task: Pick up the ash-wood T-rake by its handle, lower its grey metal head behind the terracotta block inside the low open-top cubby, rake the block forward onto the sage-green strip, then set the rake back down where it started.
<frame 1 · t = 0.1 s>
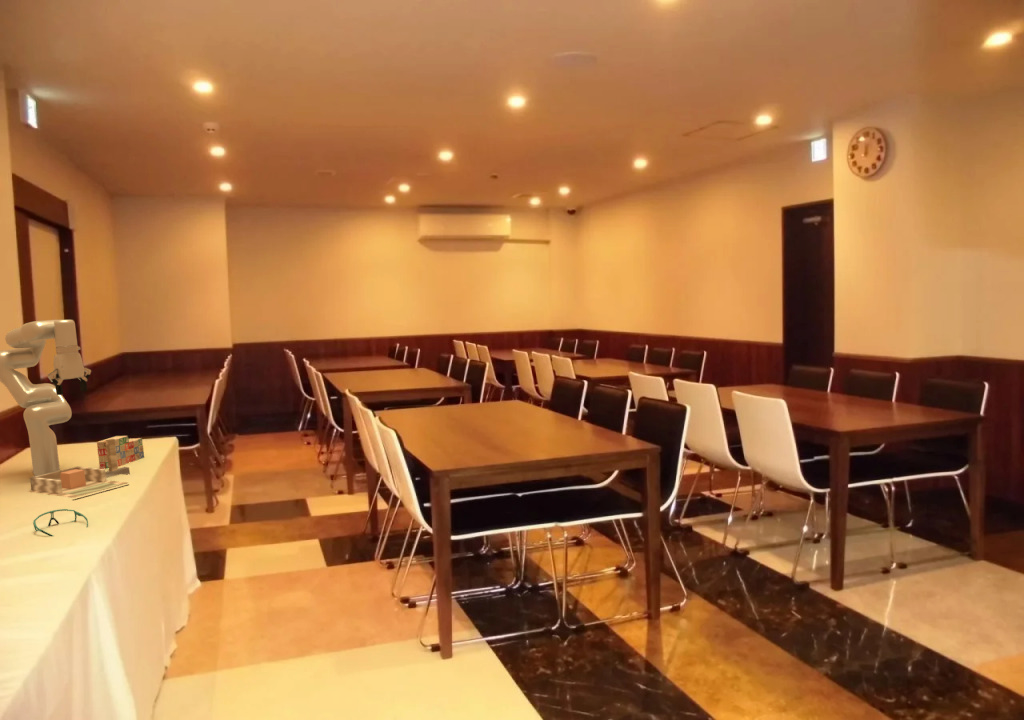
hand: (72, 393, 302), 37 cm above the table, tool pointing down, fingers open, 9 cm apart
cubby: (78, 489, 294), on the table
block: (73, 486, 295), point 1 cm above the table, touching cubby
sunglasses: (61, 529, 242), on the table
stack of blocks: (122, 463, 341), on the table
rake: (114, 477, 312), on the table
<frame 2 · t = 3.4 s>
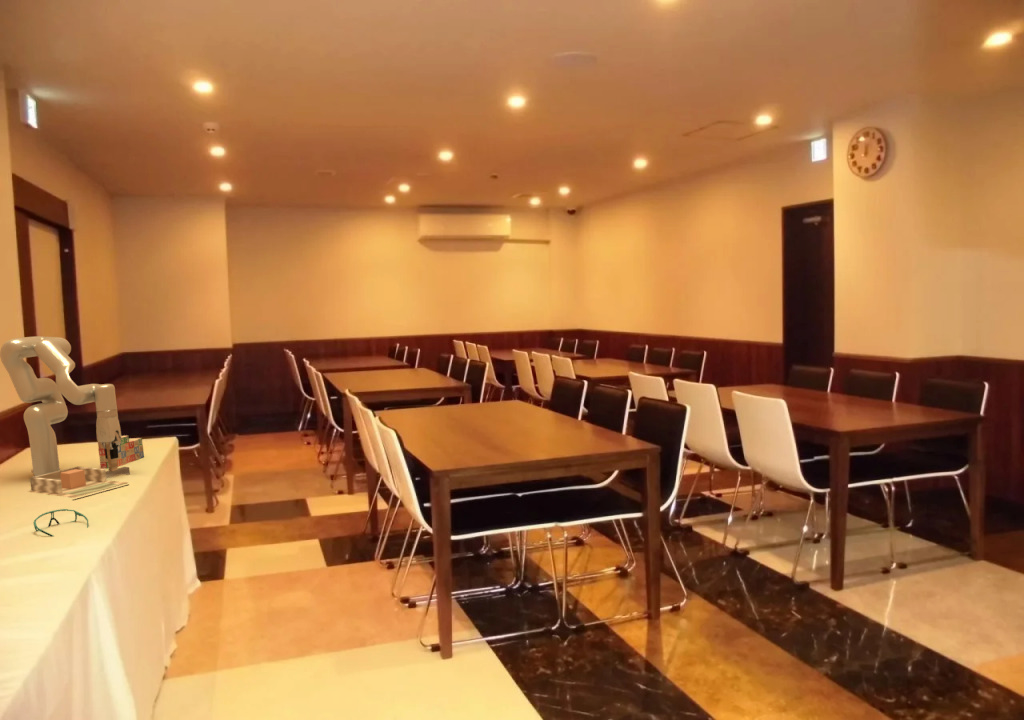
hand: (112, 457, 311), 8 cm above the table, tool pointing down, fingers closed on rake, 2 cm apart
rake: (114, 477, 312), on the table, touching gripper
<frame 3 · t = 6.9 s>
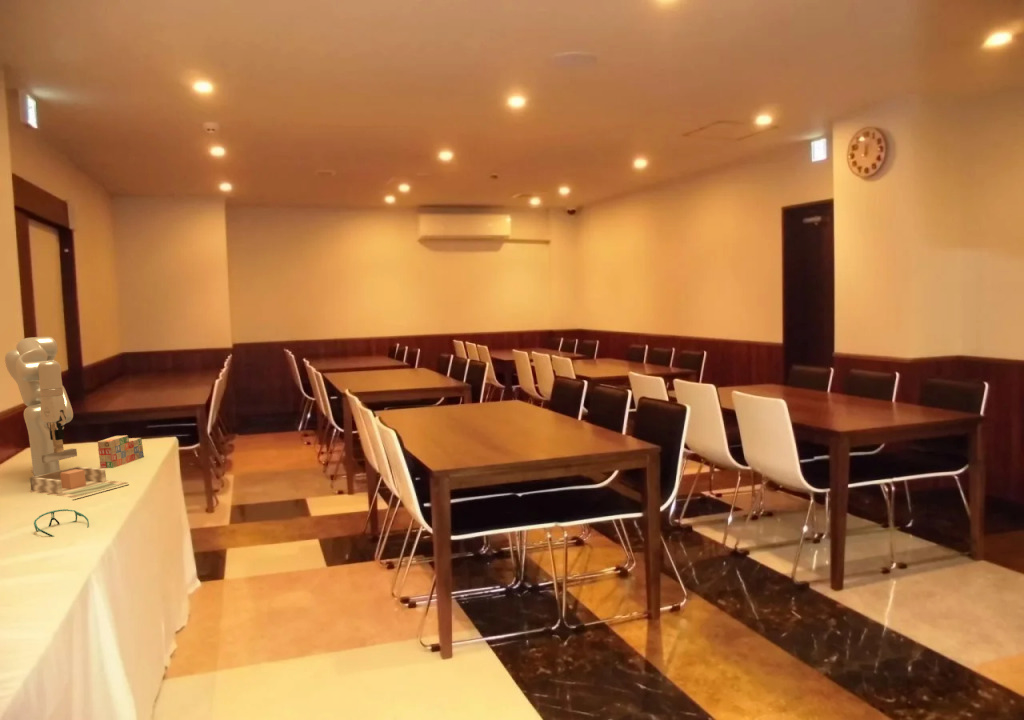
hand: (57, 439, 296), 20 cm above the table, tool pointing down, fingers closed on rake, 2 cm apart
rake: (60, 459, 297), point 11 cm above the table, touching gripper
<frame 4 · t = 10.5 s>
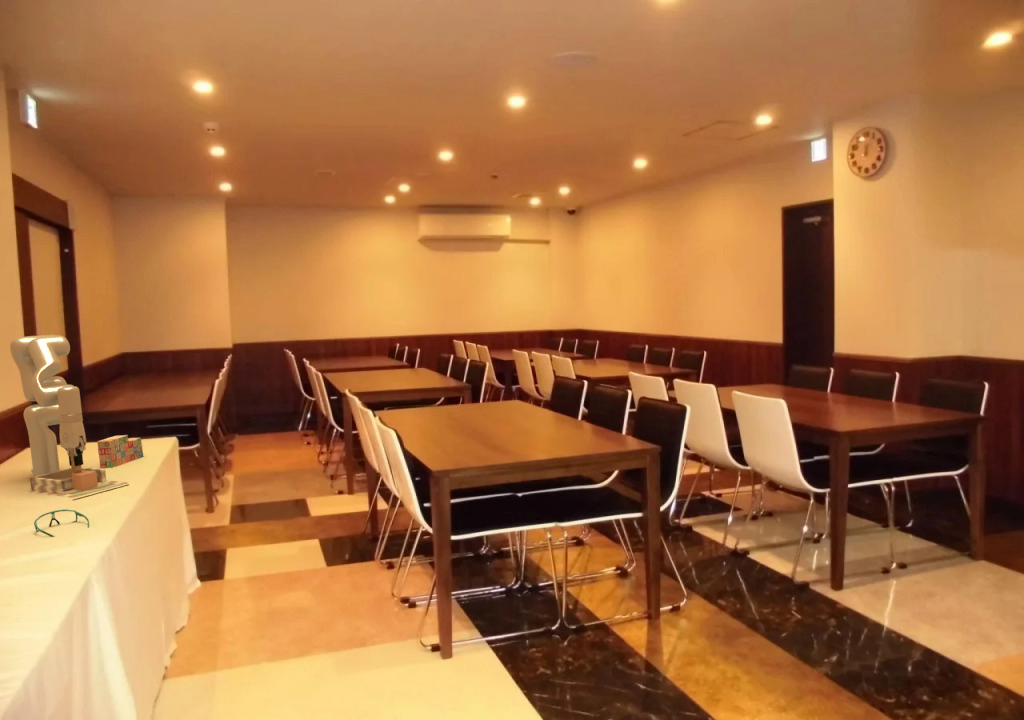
hand: (76, 464, 292), 10 cm above the table, tool pointing down, fingers closed on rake, 2 cm apart
block: (85, 488, 291), point 1 cm above the table, touching cubby
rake: (78, 485, 293), point 2 cm above the table, touching gripper
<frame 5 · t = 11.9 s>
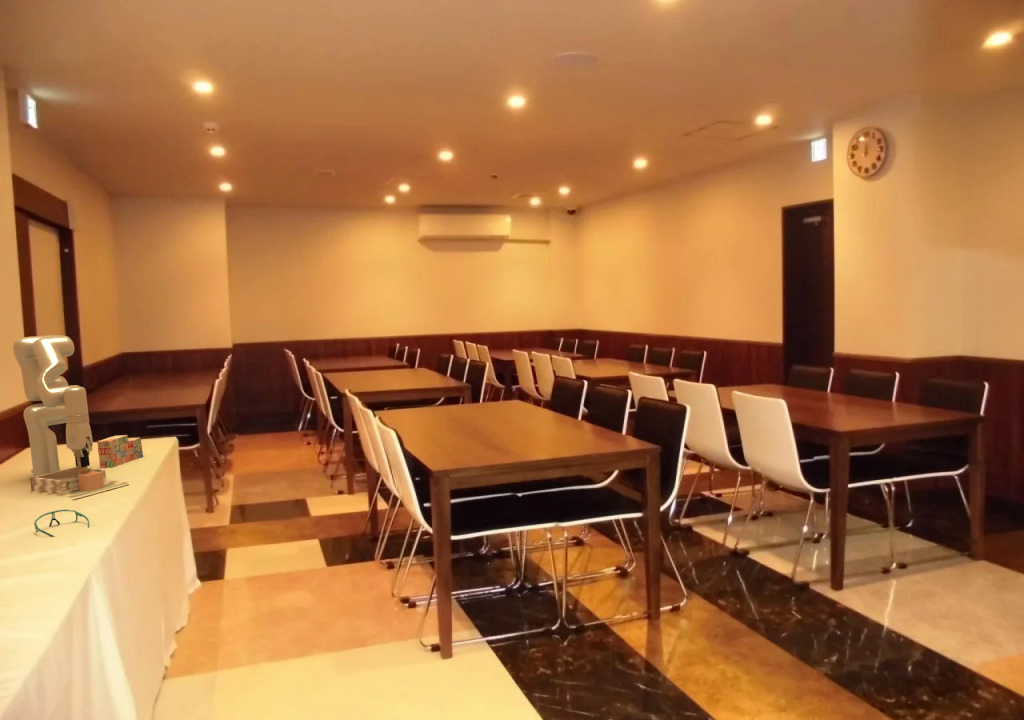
hand: (82, 465, 291), 10 cm above the table, tool pointing down, fingers closed on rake, 2 cm apart
block: (91, 488, 289), point 1 cm above the table, touching cubby
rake: (84, 485, 291), point 2 cm above the table, touching gripper
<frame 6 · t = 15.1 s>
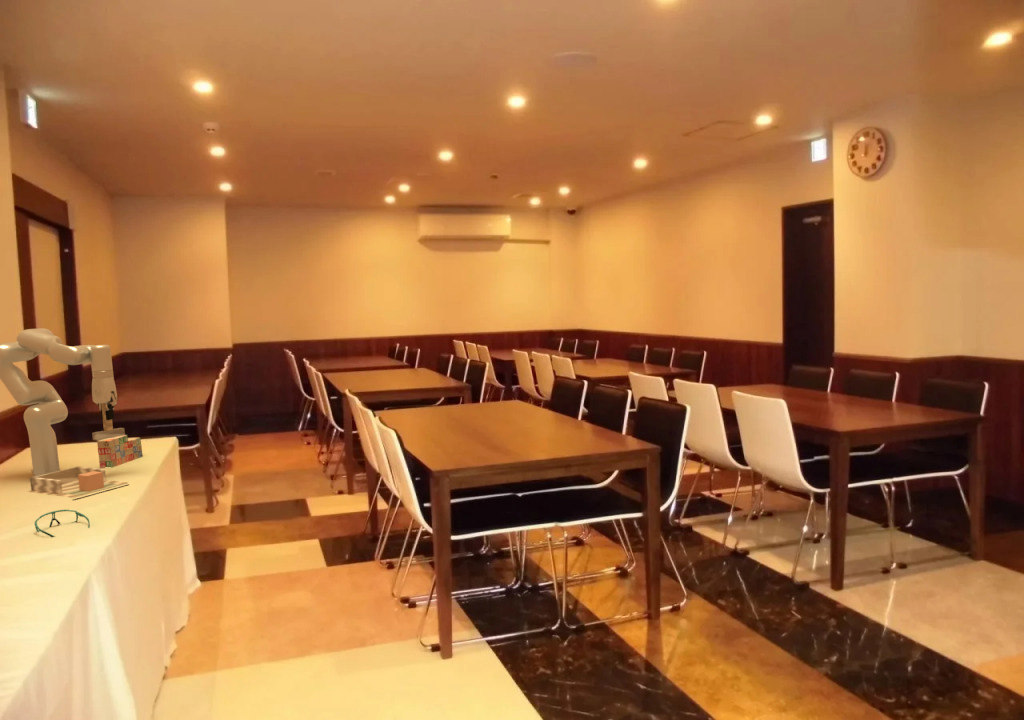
hand: (107, 419, 309), 24 cm above the table, tool pointing down, fingers closed on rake, 2 cm apart
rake: (109, 437, 310), point 17 cm above the table, touching gripper
when the fingers open (10 cm above the table, at t = 17.9 s): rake drops 2 cm, on the table.
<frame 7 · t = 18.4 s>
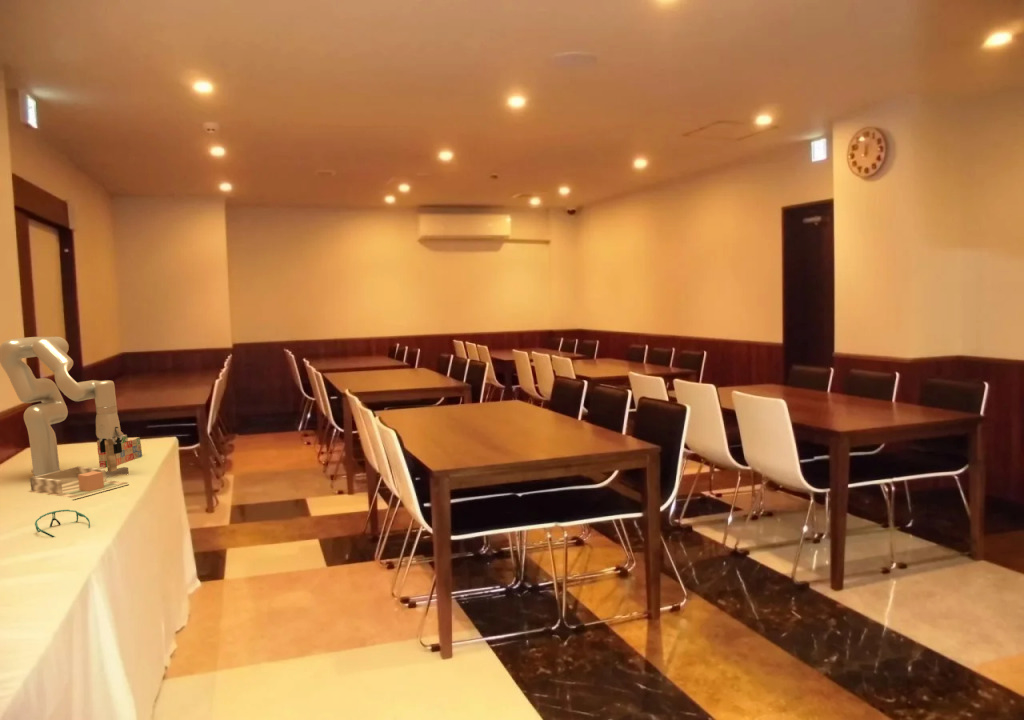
hand: (111, 452, 311), 11 cm above the table, tool pointing down, fingers open, 8 cm apart
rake: (113, 477, 311), on the table
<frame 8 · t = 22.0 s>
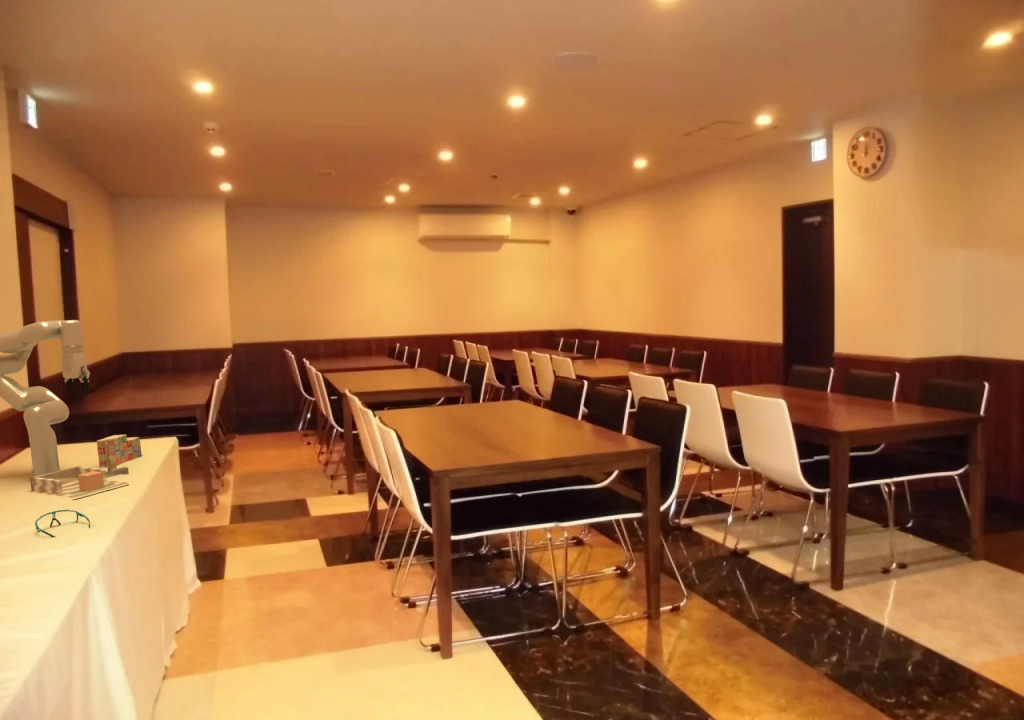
hand: (78, 391, 309), 36 cm above the table, tool pointing down, fingers open, 9 cm apart
at the end: block inside the target area (0.6 cm from its centre), point 1.0 cm above the table; block tilted 0°; the gripper is holding nothing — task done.
